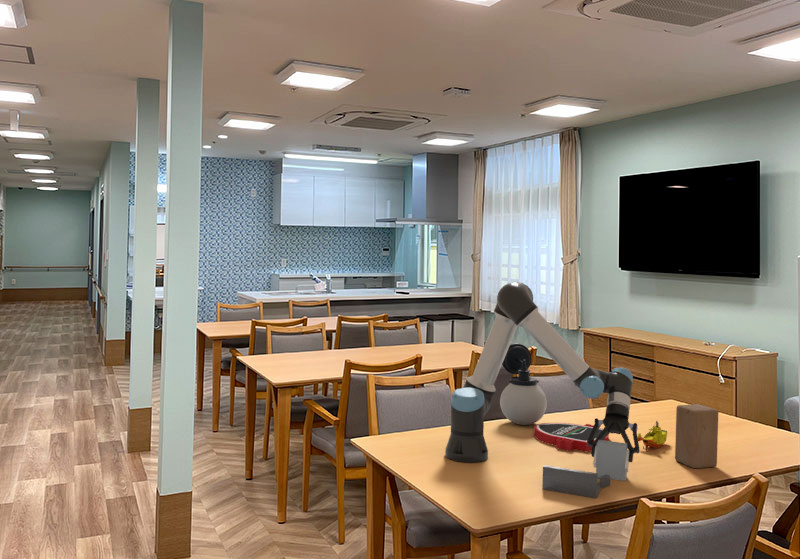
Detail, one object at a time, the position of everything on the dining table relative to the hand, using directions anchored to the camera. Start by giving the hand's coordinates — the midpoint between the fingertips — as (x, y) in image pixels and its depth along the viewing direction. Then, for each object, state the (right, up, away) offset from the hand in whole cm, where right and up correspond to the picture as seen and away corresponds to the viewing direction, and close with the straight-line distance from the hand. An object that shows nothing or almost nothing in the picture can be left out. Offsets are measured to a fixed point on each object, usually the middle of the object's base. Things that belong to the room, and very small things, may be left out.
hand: (610, 467), depth 206 cm
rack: (-14, -4, -7) cm, 16 cm away
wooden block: (+36, -4, +18) cm, 40 cm away
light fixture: (-15, -2, +71) cm, 73 cm away
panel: (+1, -4, +3) cm, 5 cm away
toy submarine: (+30, -4, +38) cm, 48 cm away
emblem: (-1, -3, +47) cm, 47 cm away
